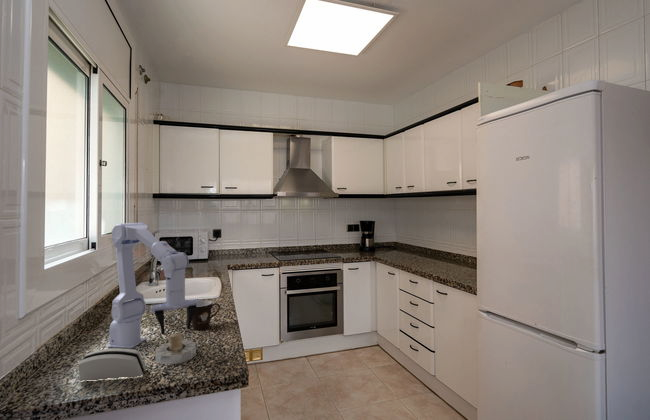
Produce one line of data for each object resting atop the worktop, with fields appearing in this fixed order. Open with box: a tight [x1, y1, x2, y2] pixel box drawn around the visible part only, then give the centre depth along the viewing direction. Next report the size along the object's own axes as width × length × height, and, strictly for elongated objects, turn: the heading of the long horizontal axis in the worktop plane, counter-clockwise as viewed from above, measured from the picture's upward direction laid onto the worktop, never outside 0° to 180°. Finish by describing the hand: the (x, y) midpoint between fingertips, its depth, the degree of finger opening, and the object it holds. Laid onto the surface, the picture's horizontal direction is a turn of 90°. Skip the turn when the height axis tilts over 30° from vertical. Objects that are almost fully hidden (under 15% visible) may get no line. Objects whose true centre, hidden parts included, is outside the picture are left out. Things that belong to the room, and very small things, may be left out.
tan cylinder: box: [168, 332, 184, 351], centre depth 108 cm, size 4×4×7 cm
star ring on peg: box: [155, 339, 197, 365], centre depth 108 cm, size 12×12×3 cm
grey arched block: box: [78, 347, 148, 382], centre depth 94 cm, size 17×5×10 cm, turn 98°
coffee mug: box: [191, 300, 221, 332], centre depth 135 cm, size 12×9×10 cm
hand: (175, 330), depth 108 cm, fingers open, 7 cm apart
